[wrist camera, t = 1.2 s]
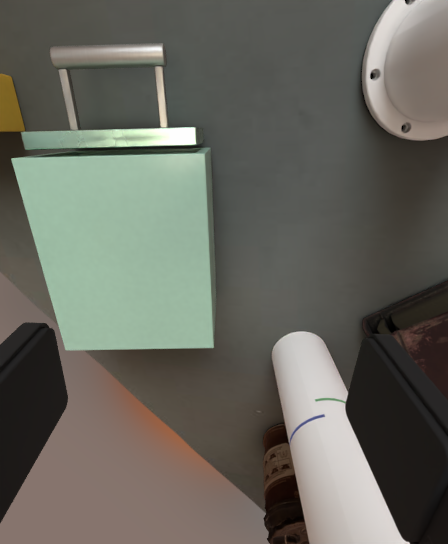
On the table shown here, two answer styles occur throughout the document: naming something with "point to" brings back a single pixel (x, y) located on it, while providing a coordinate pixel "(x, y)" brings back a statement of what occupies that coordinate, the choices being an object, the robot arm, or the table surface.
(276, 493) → the coffee cup
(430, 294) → the diary
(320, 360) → the cylindrical container
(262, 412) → the table surface
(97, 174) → the fridge
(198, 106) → the table surface
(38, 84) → the table surface
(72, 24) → the table surface
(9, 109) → the block
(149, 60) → the fridge drawer
